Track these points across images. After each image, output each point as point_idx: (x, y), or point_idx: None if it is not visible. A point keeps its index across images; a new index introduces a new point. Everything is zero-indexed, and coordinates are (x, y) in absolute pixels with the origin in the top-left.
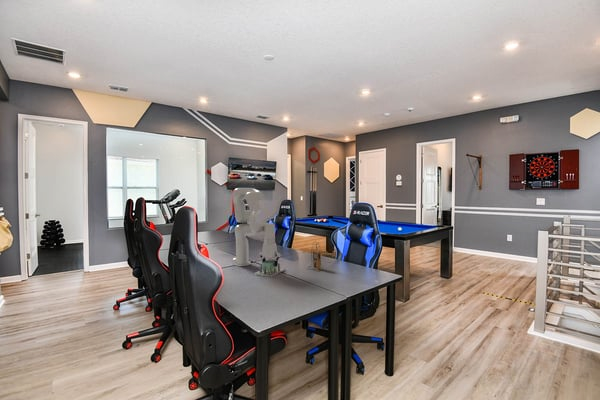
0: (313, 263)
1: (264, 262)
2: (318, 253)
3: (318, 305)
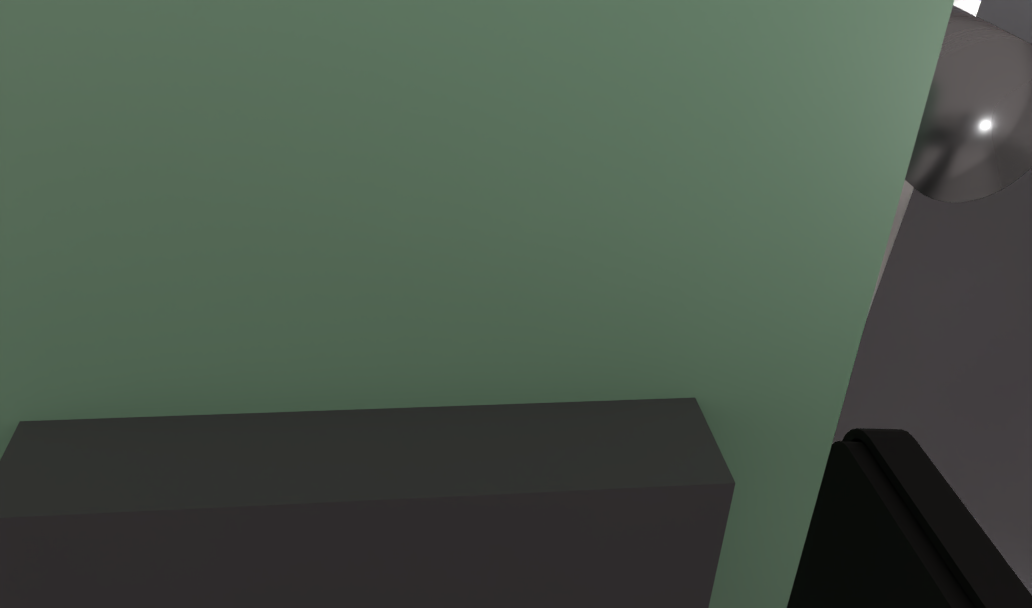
0: None
1: (729, 296)
2: None
3: None
